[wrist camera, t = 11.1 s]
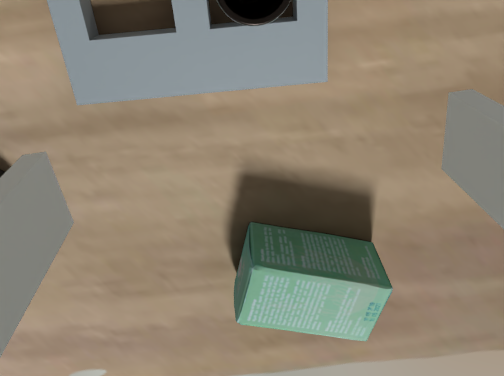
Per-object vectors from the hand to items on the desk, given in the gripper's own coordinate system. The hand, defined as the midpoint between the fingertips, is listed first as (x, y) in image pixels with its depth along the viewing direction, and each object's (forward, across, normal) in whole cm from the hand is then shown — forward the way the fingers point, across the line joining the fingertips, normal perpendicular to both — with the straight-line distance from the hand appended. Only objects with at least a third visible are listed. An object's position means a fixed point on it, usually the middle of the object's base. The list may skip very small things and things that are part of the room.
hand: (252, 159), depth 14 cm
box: (+24, +4, -23) cm, 33 cm away
